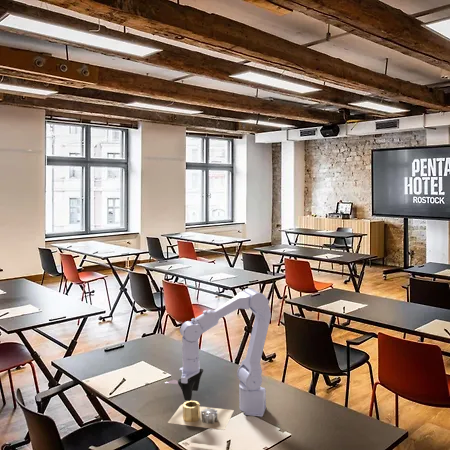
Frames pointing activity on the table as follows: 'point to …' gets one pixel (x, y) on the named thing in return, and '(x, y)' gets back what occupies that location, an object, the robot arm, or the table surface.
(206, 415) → the sun gear
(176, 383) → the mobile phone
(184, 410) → the octagonal wooden pipe
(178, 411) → the plate
